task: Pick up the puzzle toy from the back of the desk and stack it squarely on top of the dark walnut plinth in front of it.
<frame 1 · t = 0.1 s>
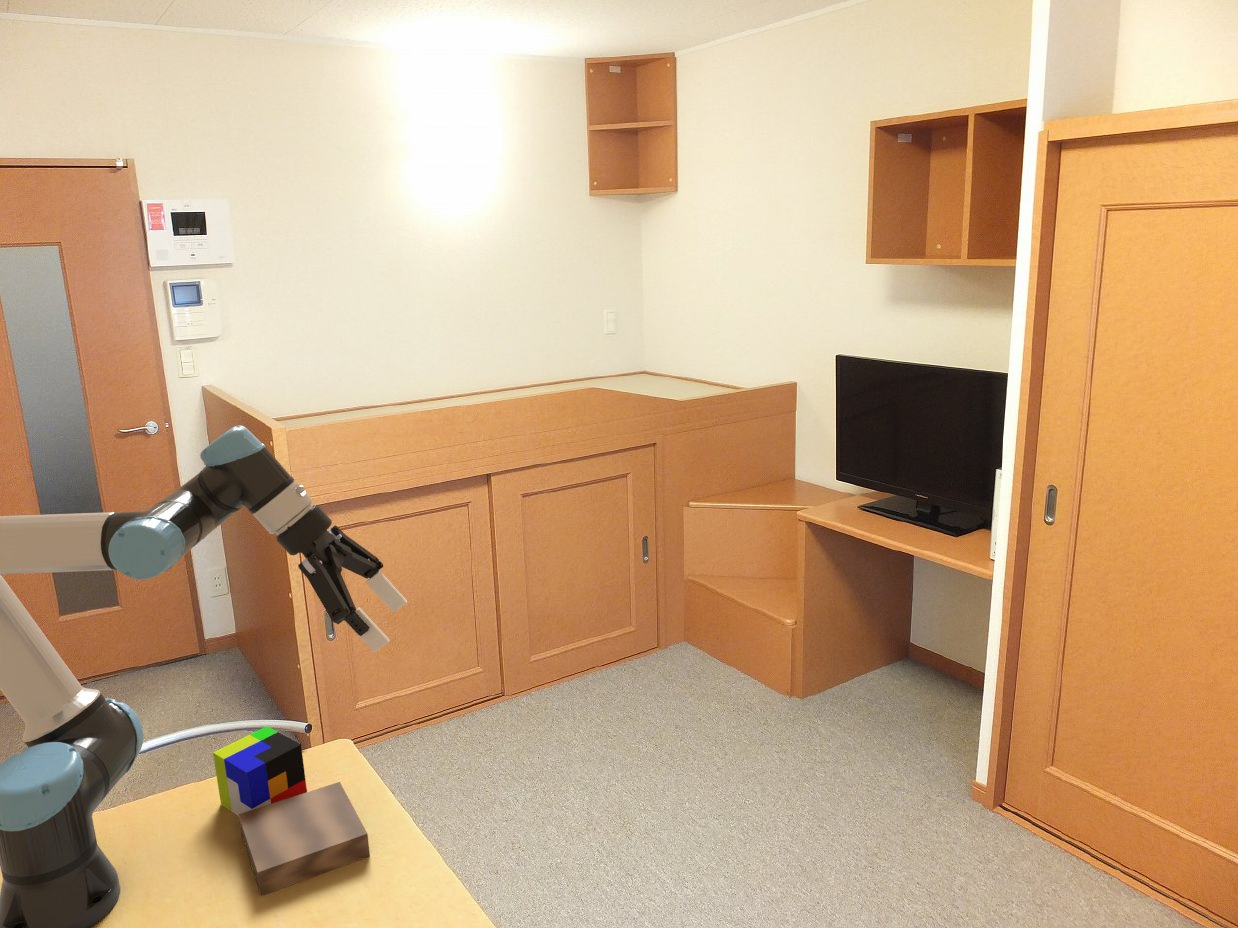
hand: (392, 626, 138), 36 cm above the table, tool tilted 35°, fingers open, 13 cm apart
puzzle toy: (264, 801, 157), on the table
walnut plinth: (304, 845, 145), on the table
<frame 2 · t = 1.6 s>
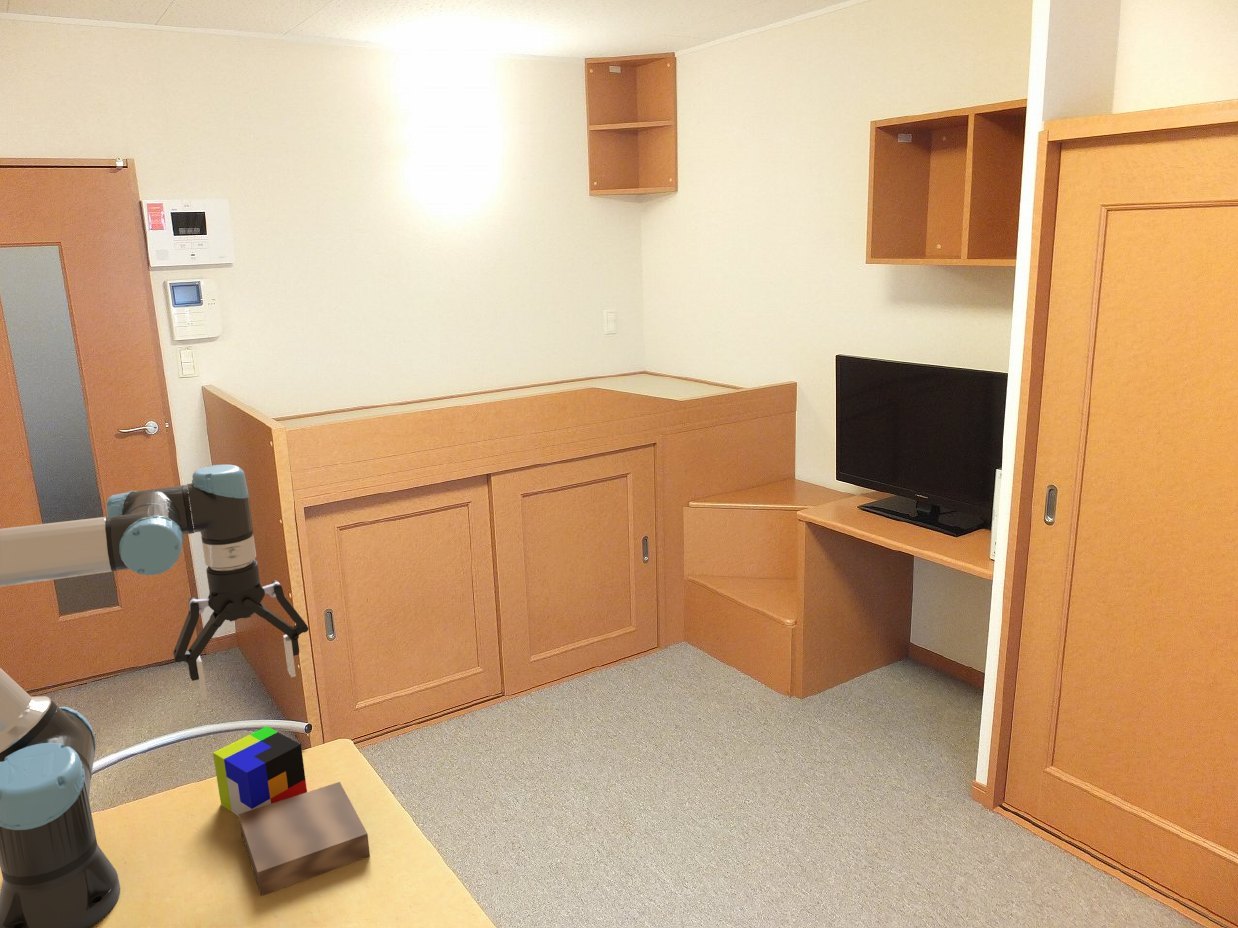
hand: (248, 684, 151), 22 cm above the table, tool pointing down, fingers open, 13 cm apart
nothing on the table moved.
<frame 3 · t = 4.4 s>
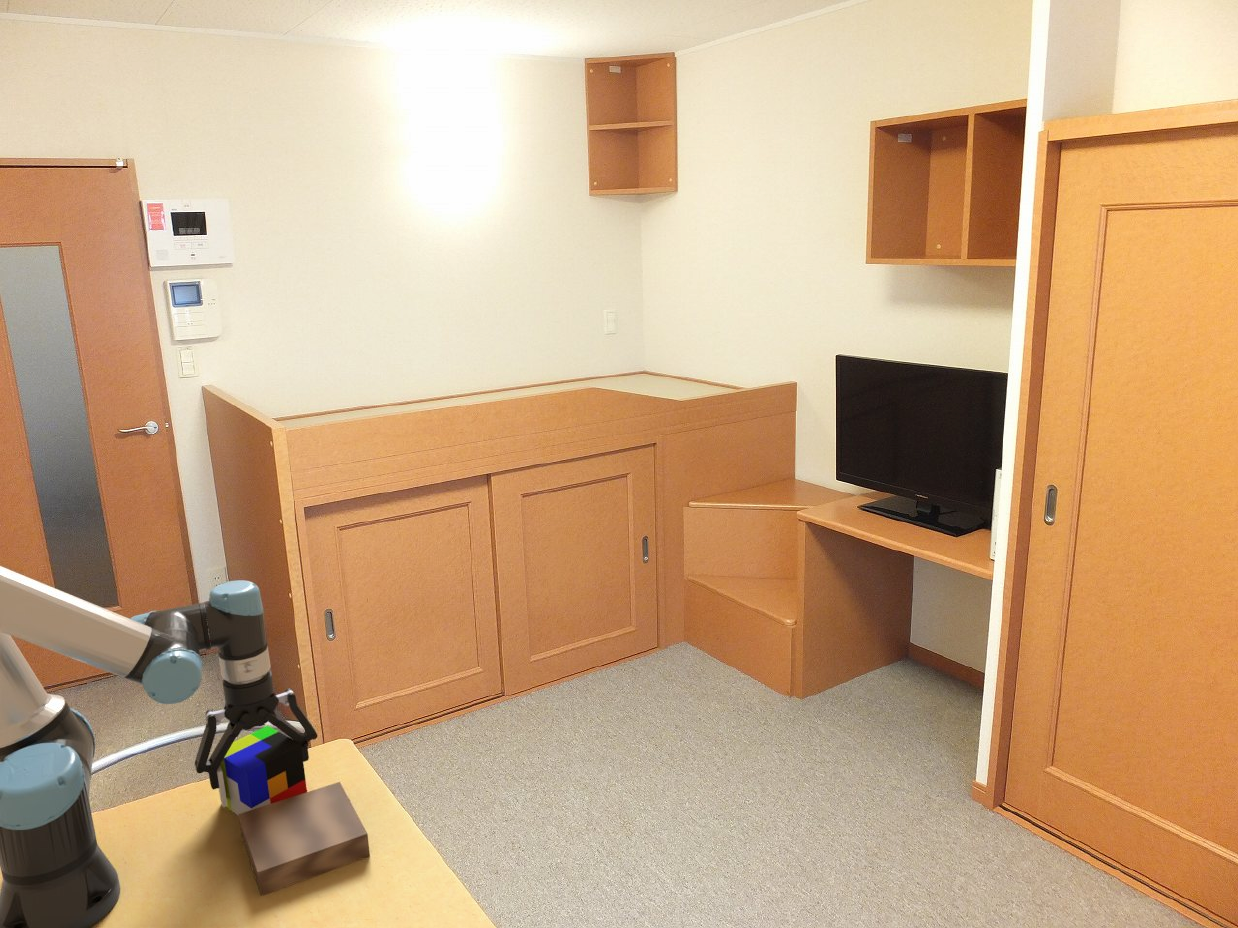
hand: (263, 790, 156), 2 cm above the table, tool pointing down, fingers closed on puzzle toy, 12 cm apart
puzzle toy: (264, 800, 157), on the table, touching gripper
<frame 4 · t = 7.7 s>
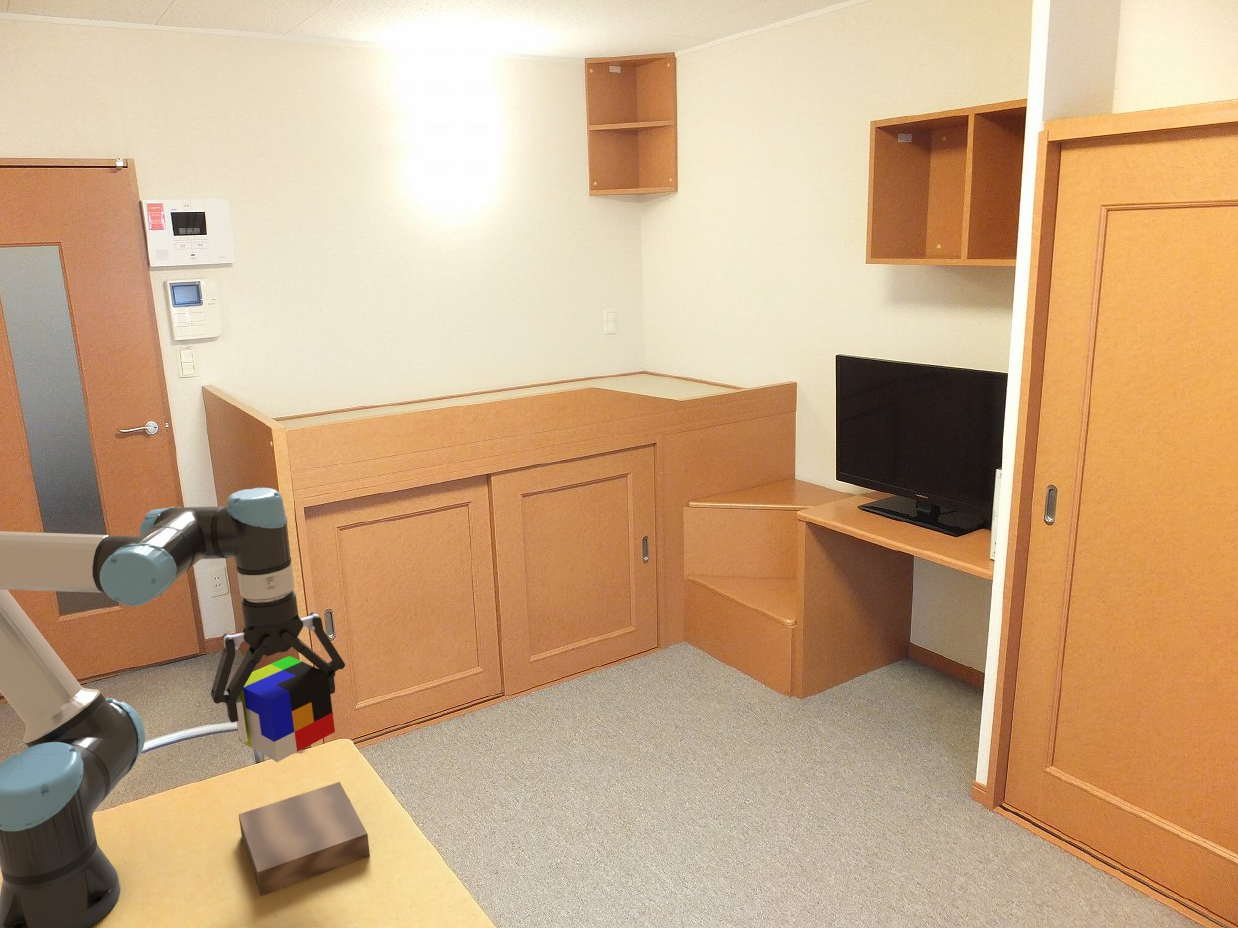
hand: (286, 725, 141), 20 cm above the table, tool pointing down, fingers closed on puzzle toy, 12 cm apart
puzzle toy: (287, 737, 142), point 18 cm above the table, touching gripper
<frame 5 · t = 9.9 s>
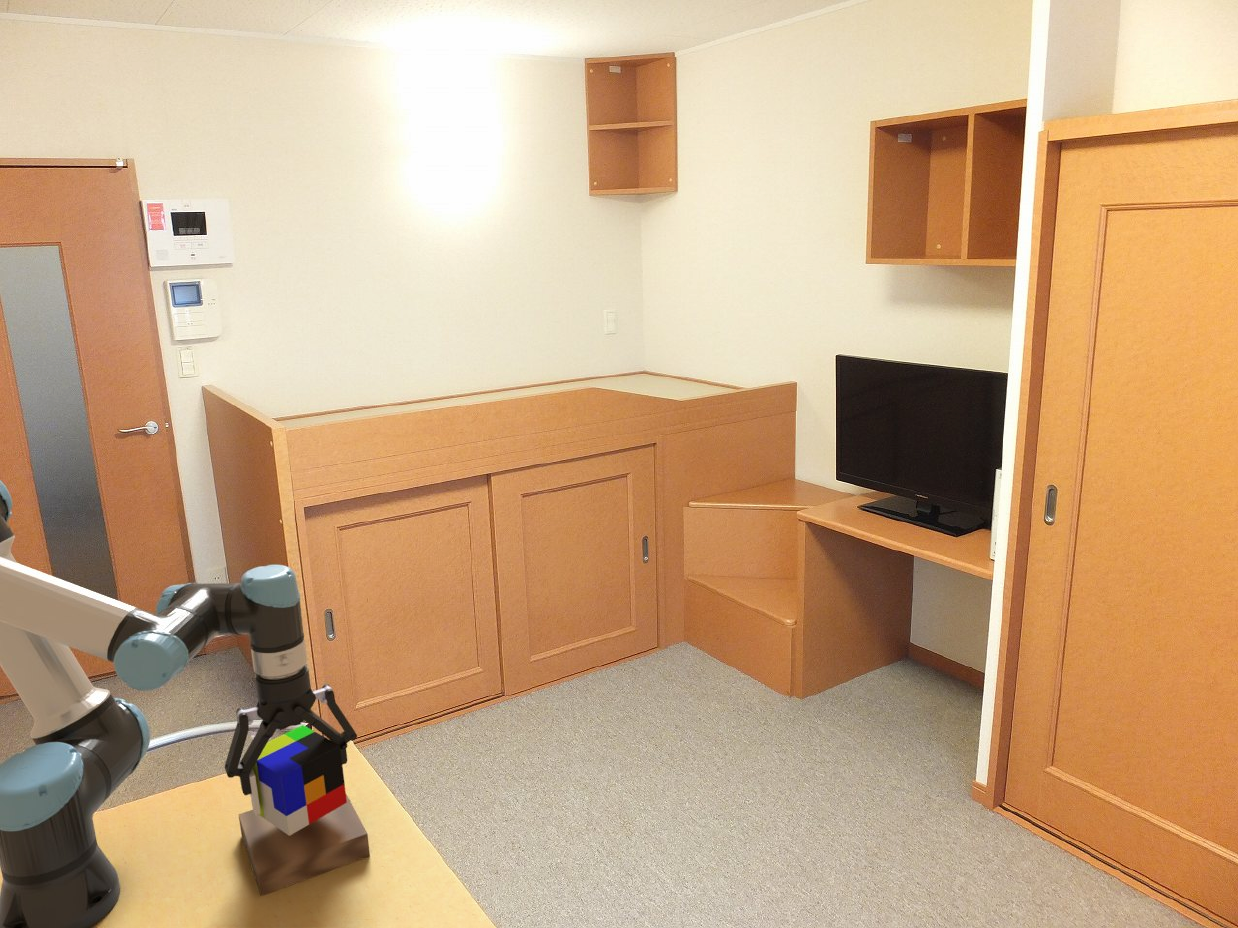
hand: (298, 796, 143), 9 cm above the table, tool pointing down, fingers closed on puzzle toy, 12 cm apart
puzzle toy: (300, 807, 143), point 7 cm above the table, touching gripper
when the fingers open (7 cm above the table, at t = 11.4 s): puzzle toy drops 1 cm, resting on walnut plinth.
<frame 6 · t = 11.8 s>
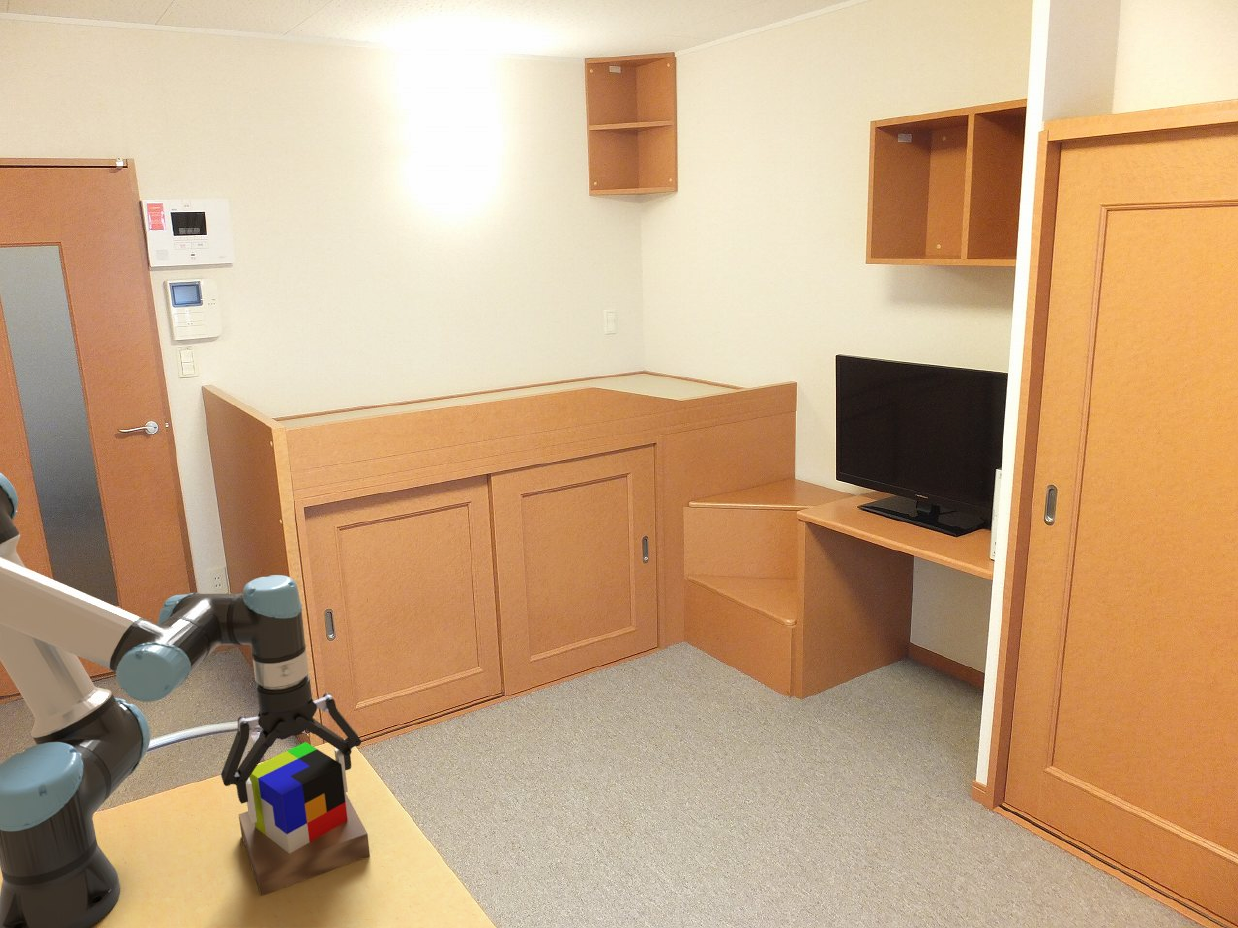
hand: (299, 802, 143), 8 cm above the table, tool pointing down, fingers open, 13 cm apart
puzzle toy: (301, 824, 144), point 4 cm above the table, touching walnut plinth
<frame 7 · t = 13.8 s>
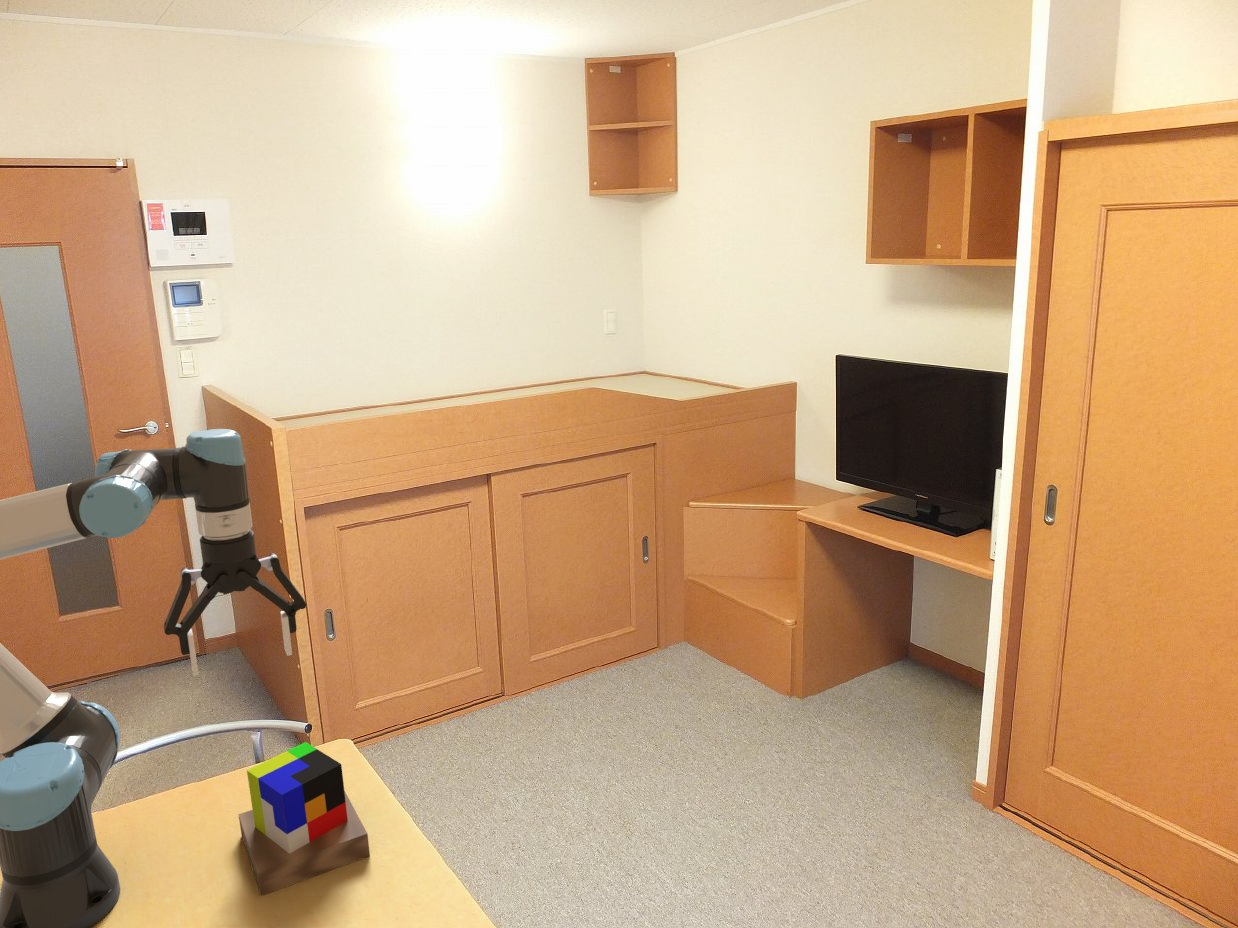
hand: (242, 661, 144), 29 cm above the table, tool pointing down, fingers open, 13 cm apart
nothing on the table moved.
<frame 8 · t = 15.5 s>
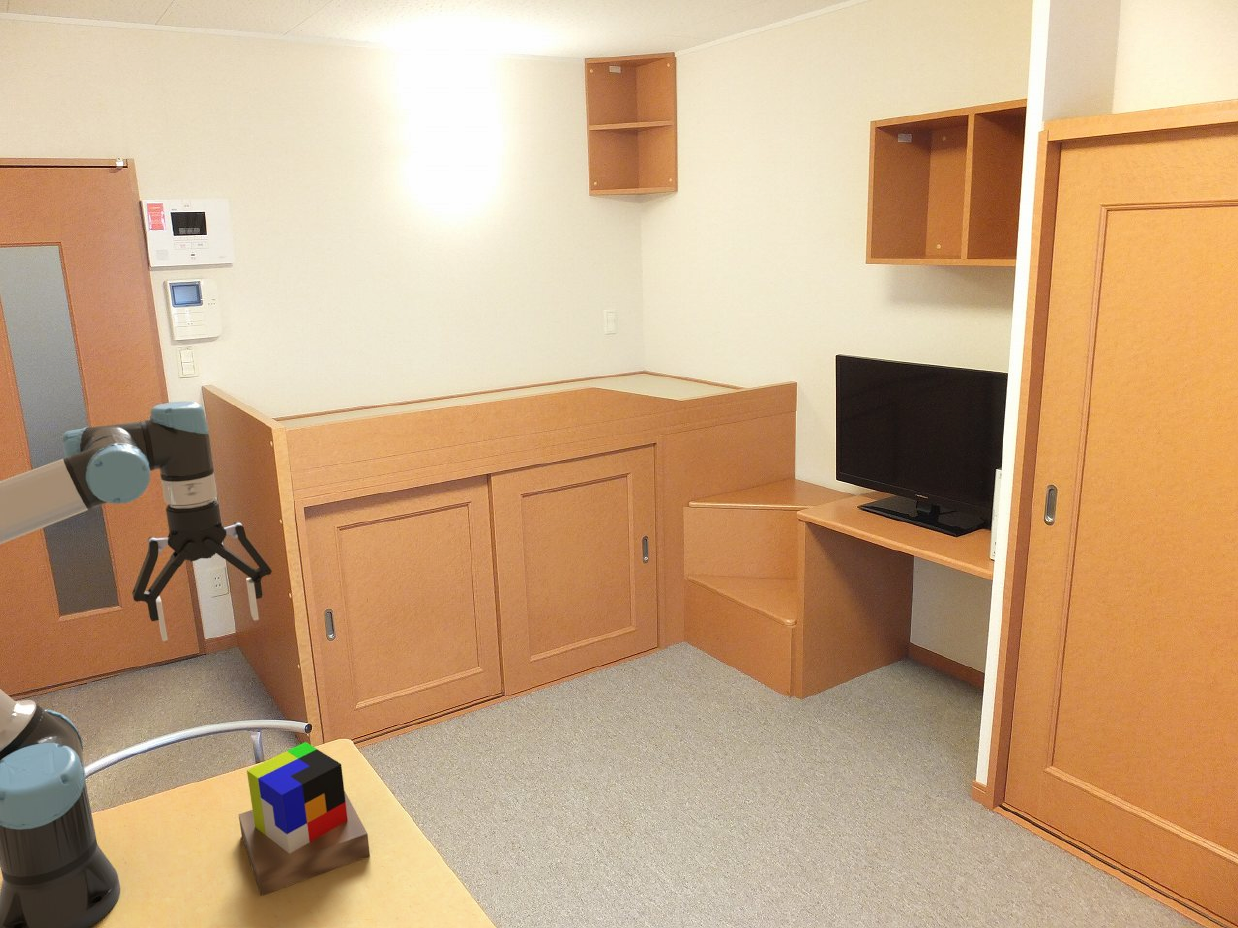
hand: (210, 627, 149), 32 cm above the table, tool pointing down, fingers open, 13 cm apart
nothing on the table moved.
at the end: puzzle toy inside the target area on the walnut plinth (0.0 cm from its centre), point 3.8 cm above the walnut plinth's base; puzzle toy tilted 0°; the gripper is holding nothing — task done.
